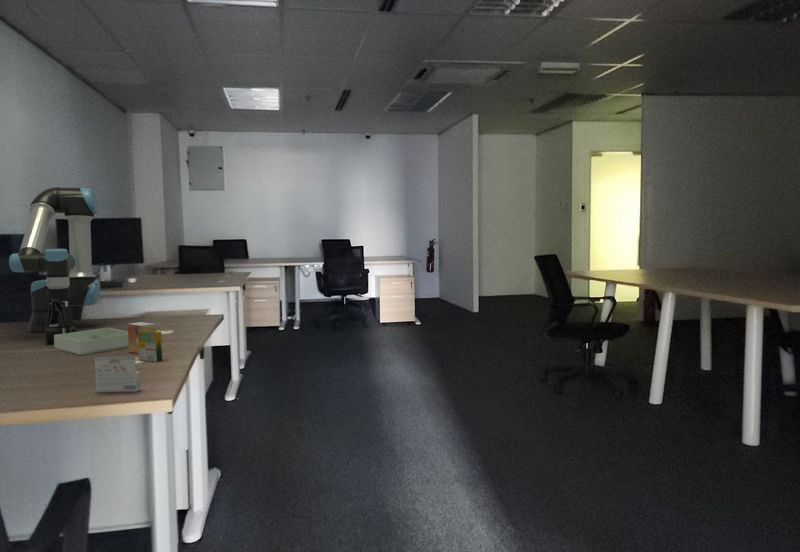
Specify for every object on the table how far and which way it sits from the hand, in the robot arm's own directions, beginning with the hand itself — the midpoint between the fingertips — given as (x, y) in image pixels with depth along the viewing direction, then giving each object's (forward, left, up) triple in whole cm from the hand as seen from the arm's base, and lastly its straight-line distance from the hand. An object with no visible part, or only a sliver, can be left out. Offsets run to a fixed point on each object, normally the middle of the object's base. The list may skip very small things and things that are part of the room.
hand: (60, 342), depth 208 cm
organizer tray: (+21, +4, 0) cm, 21 cm away
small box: (+44, +10, 0) cm, 45 cm away
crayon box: (+59, +5, 0) cm, 59 cm away
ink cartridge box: (+87, -19, 0) cm, 89 cm away
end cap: (0, 0, 0) cm, 0 cm away
